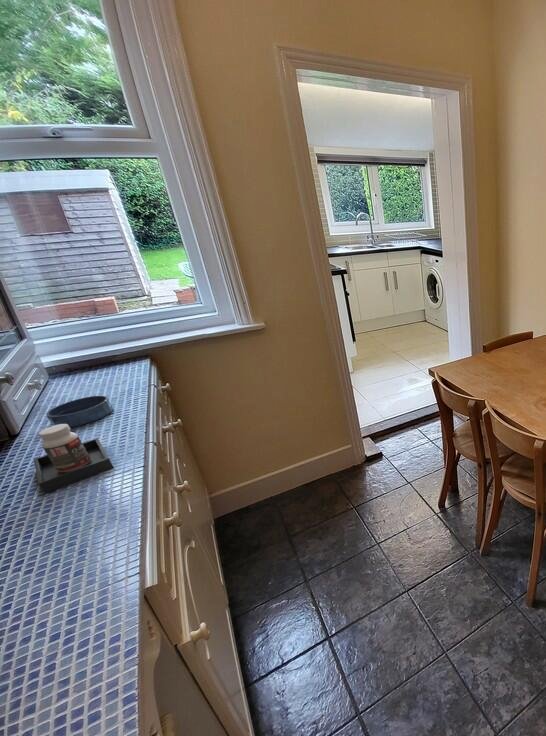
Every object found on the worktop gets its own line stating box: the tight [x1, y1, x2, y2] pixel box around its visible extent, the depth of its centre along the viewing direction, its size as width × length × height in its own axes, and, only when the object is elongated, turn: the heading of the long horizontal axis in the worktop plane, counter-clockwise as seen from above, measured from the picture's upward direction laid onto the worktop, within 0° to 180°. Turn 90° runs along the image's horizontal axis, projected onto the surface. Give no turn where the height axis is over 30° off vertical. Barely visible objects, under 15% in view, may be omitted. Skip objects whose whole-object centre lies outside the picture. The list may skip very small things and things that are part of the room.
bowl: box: [45, 395, 114, 428], centre depth 118 cm, size 13×13×4 cm
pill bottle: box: [38, 424, 91, 472], centre depth 93 cm, size 6×6×10 cm
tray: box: [33, 437, 115, 494], centre depth 95 cm, size 15×11×3 cm
